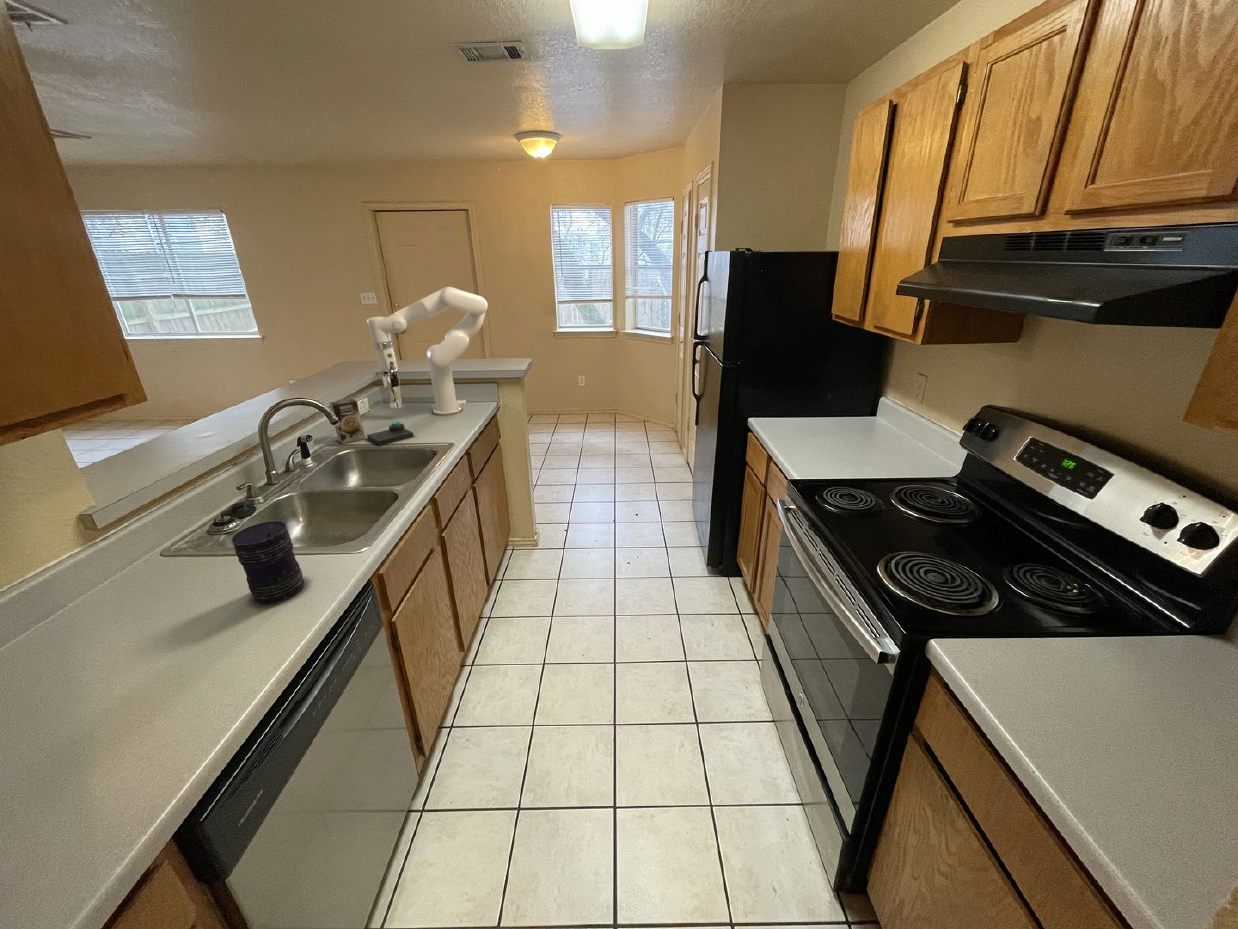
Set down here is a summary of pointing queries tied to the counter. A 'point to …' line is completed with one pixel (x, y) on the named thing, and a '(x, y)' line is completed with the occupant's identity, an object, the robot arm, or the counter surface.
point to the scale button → (396, 424)
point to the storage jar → (269, 562)
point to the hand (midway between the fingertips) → (392, 385)
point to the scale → (390, 435)
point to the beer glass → (393, 392)
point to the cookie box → (348, 420)
